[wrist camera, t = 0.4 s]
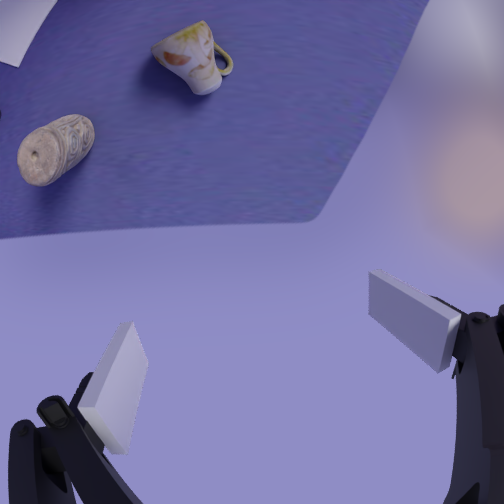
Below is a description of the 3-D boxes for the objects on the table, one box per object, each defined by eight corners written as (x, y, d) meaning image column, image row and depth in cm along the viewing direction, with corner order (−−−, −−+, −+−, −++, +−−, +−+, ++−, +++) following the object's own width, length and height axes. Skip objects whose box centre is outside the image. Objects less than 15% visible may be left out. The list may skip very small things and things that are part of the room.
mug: (192, 110, 32) (154, 87, 23) (172, 58, 31) (136, 28, 22) (244, 86, 31) (221, 52, 21) (220, 35, 29) (194, -4, 20)
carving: (49, 153, 29) (6, 178, 19) (71, 105, 27) (28, 111, 17) (83, 171, 32) (47, 202, 22) (107, 123, 30) (74, 135, 20)
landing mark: (15, -23, 10) (14, -23, 10) (69, -16, 16) (69, -16, 16) (-29, 52, 15) (-29, 52, 14) (18, 67, 21) (18, 67, 21)
